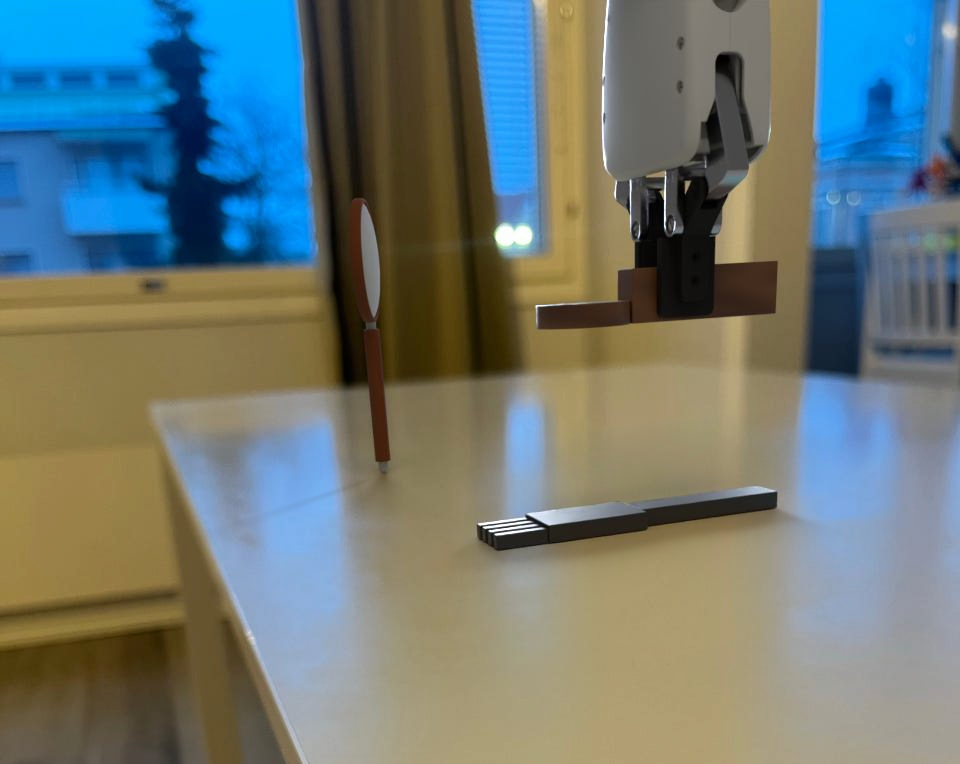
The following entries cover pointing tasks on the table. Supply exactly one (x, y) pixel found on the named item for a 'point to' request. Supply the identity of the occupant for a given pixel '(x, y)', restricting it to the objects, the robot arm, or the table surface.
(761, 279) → the brown disc and block
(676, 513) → the fork
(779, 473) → the table surface
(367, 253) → the magnifying glass
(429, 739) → the table surface
